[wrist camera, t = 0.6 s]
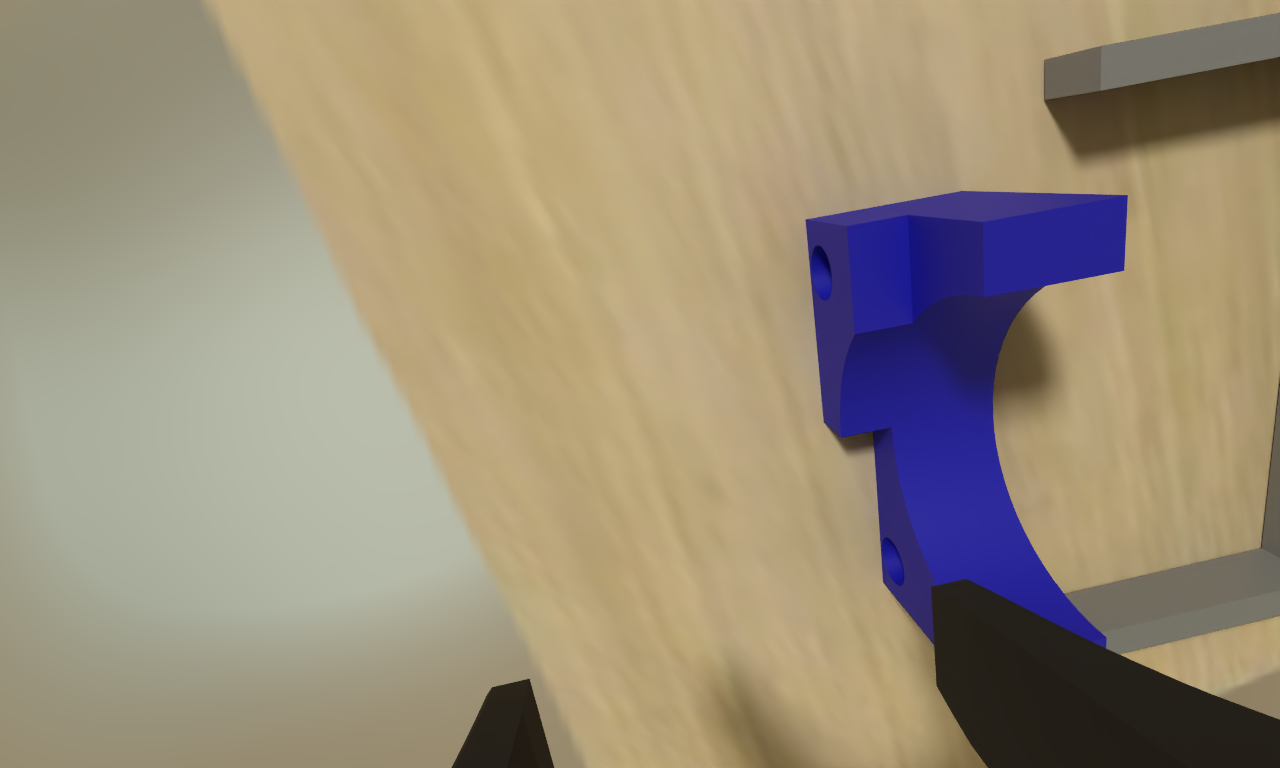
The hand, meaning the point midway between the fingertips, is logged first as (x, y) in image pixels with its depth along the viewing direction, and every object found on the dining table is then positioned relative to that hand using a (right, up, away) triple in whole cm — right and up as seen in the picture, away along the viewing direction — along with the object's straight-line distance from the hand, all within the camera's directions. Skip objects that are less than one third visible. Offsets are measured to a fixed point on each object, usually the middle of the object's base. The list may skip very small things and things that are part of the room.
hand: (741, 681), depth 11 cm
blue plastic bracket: (+6, +4, +10) cm, 12 cm away
